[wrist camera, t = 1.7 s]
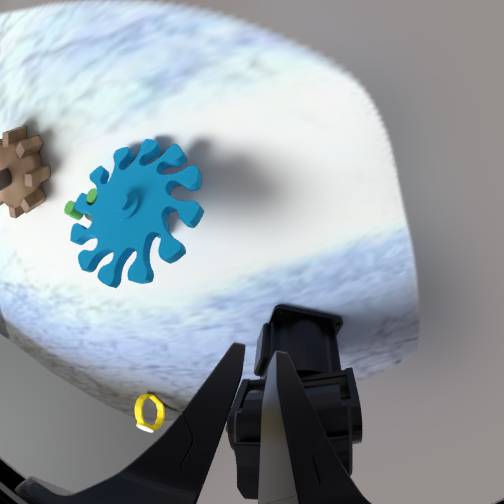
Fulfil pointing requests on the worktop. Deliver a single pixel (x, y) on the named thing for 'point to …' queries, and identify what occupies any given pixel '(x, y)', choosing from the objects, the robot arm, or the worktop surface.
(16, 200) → the gear
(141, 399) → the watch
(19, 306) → the worktop surface
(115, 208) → the gear
